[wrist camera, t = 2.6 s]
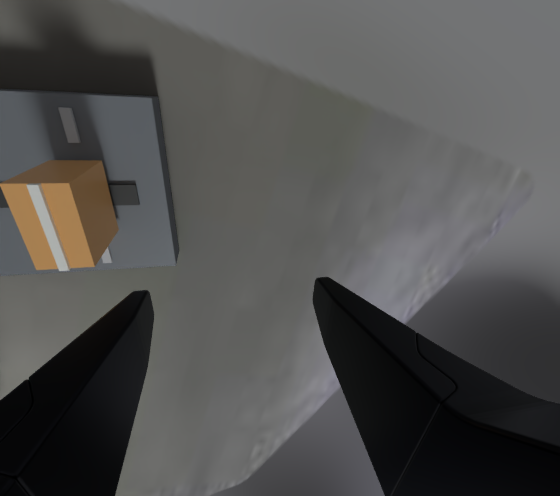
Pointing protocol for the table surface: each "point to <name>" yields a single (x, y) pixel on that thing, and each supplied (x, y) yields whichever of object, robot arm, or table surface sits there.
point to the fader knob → (63, 212)
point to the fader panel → (93, 146)
